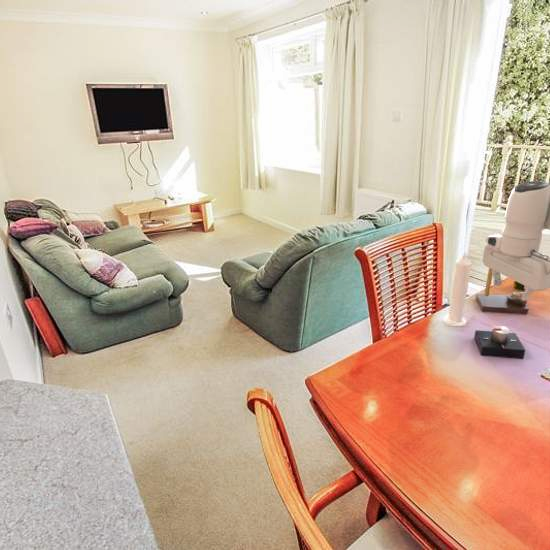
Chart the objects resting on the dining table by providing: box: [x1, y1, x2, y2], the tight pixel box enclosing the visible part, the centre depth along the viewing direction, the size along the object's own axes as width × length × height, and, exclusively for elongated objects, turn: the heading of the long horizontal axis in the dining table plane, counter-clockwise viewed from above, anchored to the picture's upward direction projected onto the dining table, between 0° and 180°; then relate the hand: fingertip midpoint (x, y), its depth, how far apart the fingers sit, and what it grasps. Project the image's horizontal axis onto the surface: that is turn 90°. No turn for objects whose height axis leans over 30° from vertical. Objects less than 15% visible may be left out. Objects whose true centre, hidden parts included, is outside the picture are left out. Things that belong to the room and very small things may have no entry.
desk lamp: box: [483, 267, 493, 297], centre depth 129 cm, size 6×6×21 cm
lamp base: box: [475, 292, 529, 315], centre depth 133 cm, size 15×10×4 cm
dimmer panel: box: [473, 329, 526, 360], centre depth 111 cm, size 11×9×3 cm
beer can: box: [512, 280, 526, 292], centre depth 142 cm, size 5×5×12 cm
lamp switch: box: [512, 291, 522, 300], centre depth 131 cm, size 3×3×2 cm
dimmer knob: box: [491, 325, 511, 344], centre depth 110 cm, size 4×4×4 cm
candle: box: [443, 252, 472, 328], centre depth 121 cm, size 7×7×25 cm
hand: (509, 291), depth 104 cm, fingers open, 8 cm apart
